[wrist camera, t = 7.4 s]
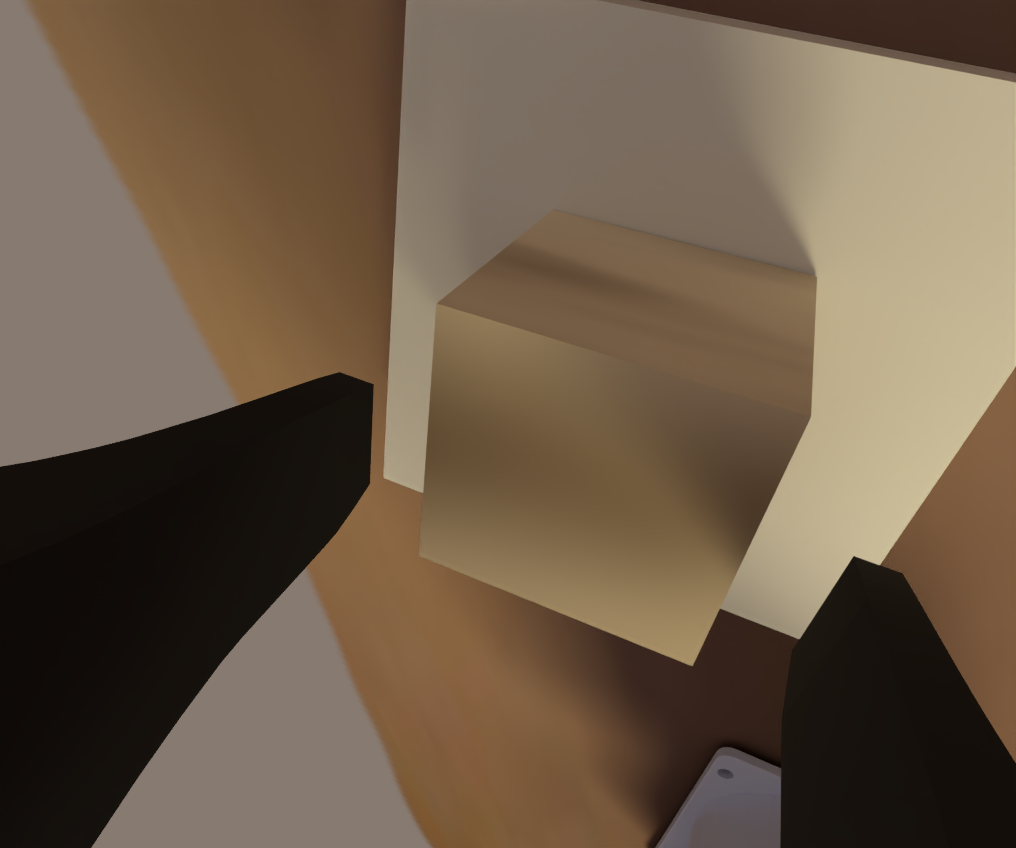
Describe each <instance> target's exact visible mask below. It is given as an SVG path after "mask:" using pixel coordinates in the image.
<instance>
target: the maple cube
mask: <svg viewBox="0 0 1016 848" xmlns="http://www.w3.org/2000/svg"><path fill="white" fill-rule="evenodd" d="M816 291H817V277H816V276H812V275H808V274H804V273H800V272H796V271H793V270H789V269H785V268H781V267H777V266H773V265H769V264H765V263H761V262H757V261H753V260H749V259H745V258H741V257H737V256H734V255H730V254H726V253H722V252H718V251H714V250H710V249H706V248H702V247H698V246H694V245H690V244H686V243H682V242H678V241H675V240H671V239H667V238H663V237H659V236H655V235H651V234H647V233H643V232H639V231H635V230H631V229H627V228H623V227H619V226H616V225H612V224H608V223H604V222H600V221H596V220H592V219H588V218H584V217H580V216H576V215H572V214H568V213H564V212H561V211H557V210H552V211H551V212H549V213H548V214H547V215H546V216H544V217H543V218H542V219H541V220H539V221H538V222H537V223H536V224H535V225H533V226H532V227H531V228H530V229H528V230H527V231H526V232H525V233H523V234H522V235H521V236H520V237H518V238H517V239H516V240H515V241H513V242H512V243H511V244H510V245H508V246H507V247H506V248H505V249H503V250H502V251H501V252H500V253H498V254H497V255H496V256H495V257H493V258H492V259H491V260H490V261H489V262H487V263H486V264H485V265H484V266H482V267H481V268H480V269H479V270H477V271H476V272H475V273H474V274H472V275H471V276H470V277H469V278H467V279H466V280H465V281H464V282H462V283H461V284H460V285H459V286H457V287H456V288H455V289H454V290H452V291H451V292H450V293H449V294H447V295H446V296H445V297H444V298H443V299H441V300H440V301H439V302H438V303H436V316H435V330H434V345H433V359H432V373H431V388H430V402H429V417H428V431H427V445H426V460H425V474H424V488H423V503H422V517H421V531H420V546H419V556H420V557H423V558H425V559H428V560H430V561H433V562H435V563H438V564H440V565H443V566H445V567H448V568H450V569H453V570H455V571H457V572H460V573H462V574H465V575H467V576H470V577H472V578H475V579H477V580H480V581H482V582H485V583H487V584H490V585H492V586H495V587H497V588H500V589H502V590H505V591H507V592H509V593H512V594H514V595H517V596H519V597H522V598H524V599H527V600H529V601H532V602H534V603H537V604H539V605H542V606H544V607H547V608H549V609H552V610H554V611H557V612H559V613H561V614H564V615H566V616H569V617H571V618H574V619H576V620H579V621H581V622H584V623H586V624H589V625H591V626H594V627H596V628H599V629H601V630H604V631H606V632H608V633H611V634H613V635H616V636H618V637H621V638H623V639H626V640H628V641H631V642H633V643H636V644H638V645H641V646H643V647H646V648H648V649H651V650H653V651H656V652H658V653H660V654H663V655H665V656H668V657H670V658H673V659H675V660H678V661H680V662H683V663H685V664H688V665H690V666H693V664H694V662H695V660H696V658H697V656H698V654H699V651H700V649H701V647H702V645H703V643H704V641H705V639H706V637H707V635H708V633H709V630H710V628H711V626H712V624H713V622H714V620H715V618H716V616H717V614H718V611H719V609H720V607H721V605H722V603H723V601H724V599H725V597H726V595H727V593H728V590H729V588H730V586H731V584H732V582H733V580H734V578H735V576H736V574H737V572H738V569H739V567H740V565H741V563H742V561H743V559H744V557H745V555H746V553H747V551H748V548H749V546H750V544H751V542H752V540H753V538H754V536H755V534H756V532H757V530H758V527H759V525H760V523H761V521H762V519H763V517H764V515H765V513H766V511H767V509H768V506H769V504H770V502H771V500H772V498H773V496H774V494H775V492H776V490H777V487H778V485H779V483H780V481H781V479H782V477H783V475H784V473H785V471H786V469H787V466H788V464H789V462H790V460H791V458H792V456H793V454H794V452H795V450H796V448H797V445H798V443H799V441H800V439H801V437H802V435H803V433H804V431H805V429H806V427H807V424H808V422H809V420H810V418H811V408H812V384H813V361H814V338H815V314H816Z"/></svg>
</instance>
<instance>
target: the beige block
mask: <svg viewBox="0 0 1016 848" xmlns="http://www.w3.org/2000/svg"><path fill="white" fill-rule="evenodd" d="M552 210H557V211H561V212H564V213H568V214H572V215H576V216H580V217H584V218H588V219H592V220H596V221H600V222H604V223H608V224H612V225H616V226H619V227H623V228H627V229H631V230H635V231H639V232H643V233H647V234H651V235H655V236H659V237H663V238H667V239H671V240H675V241H678V242H682V243H686V244H690V245H694V246H698V247H702V248H706V249H710V250H714V251H718V252H722V253H726V254H730V255H734V256H737V257H741V258H745V259H749V260H753V261H757V262H761V263H765V264H769V265H773V266H777V267H781V268H785V269H789V270H793V271H796V272H800V273H804V274H808V275H812V276H816V277H817V291H816V314H815V338H814V361H813V384H812V408H811V418H810V420H809V422H808V424H807V427H806V429H805V431H804V433H803V435H802V437H801V439H800V441H799V443H798V445H797V448H796V450H795V452H794V454H793V456H792V458H791V460H790V462H789V464H788V466H787V469H786V471H785V473H784V475H783V477H782V479H781V481H780V483H779V485H778V487H777V490H776V492H775V494H774V496H773V498H772V500H771V502H770V504H769V506H768V509H767V511H766V513H765V515H764V517H763V519H762V521H761V523H760V525H759V527H758V530H757V532H756V534H755V536H754V538H753V540H752V542H751V544H750V546H749V548H748V551H747V553H746V555H745V557H744V559H743V561H742V563H741V565H740V567H739V569H738V572H737V574H736V576H735V578H734V580H733V582H732V584H731V586H730V588H729V590H728V593H727V595H726V597H725V599H724V601H723V603H722V605H721V607H720V609H723V610H725V611H728V612H730V613H733V614H735V615H738V616H741V617H743V618H746V619H748V620H751V621H753V622H756V623H759V624H761V625H764V626H766V627H769V628H772V629H774V630H777V631H779V632H782V633H784V634H787V635H790V636H792V637H795V638H797V639H800V638H801V636H802V635H803V633H804V632H805V630H806V629H807V627H808V625H809V624H810V622H811V621H812V619H813V618H814V616H815V615H816V613H817V612H818V610H819V609H820V607H821V605H822V604H823V602H824V601H825V599H826V598H827V596H828V595H829V593H830V592H831V590H832V589H833V587H834V585H835V584H836V582H837V581H838V579H839V578H840V576H841V575H842V573H843V572H844V570H845V569H846V567H847V565H848V564H849V562H850V561H851V559H852V558H853V556H855V557H858V558H861V559H863V560H866V561H869V562H872V563H875V564H877V565H880V564H881V563H882V561H883V560H884V558H885V557H886V555H887V554H888V552H889V551H890V550H891V548H892V547H893V545H894V544H895V542H896V541H897V539H898V538H899V536H900V535H901V533H902V532H903V531H904V529H905V528H906V526H907V525H908V523H909V522H910V520H911V519H912V517H913V516H914V514H915V513H916V512H917V510H918V509H919V507H920V506H921V504H922V503H923V501H924V500H925V498H926V497H927V495H928V494H929V493H930V491H931V490H932V488H933V487H934V485H935V484H936V482H937V481H938V479H939V478H940V476H941V475H942V474H943V472H944V471H945V469H946V468H947V466H948V465H949V463H950V462H951V460H952V459H953V457H954V456H955V455H956V453H957V452H958V450H959V449H960V447H961V446H962V444H963V443H964V441H965V440H966V439H967V437H968V436H969V434H970V433H971V431H972V430H973V428H974V427H975V425H976V424H977V422H978V421H979V420H980V418H981V417H982V415H983V414H984V412H985V411H986V409H987V408H988V406H989V405H990V403H991V402H992V401H993V399H994V398H995V396H996V395H997V393H998V392H999V390H1000V389H1001V387H1002V386H1003V384H1004V383H1005V382H1006V380H1007V379H1008V377H1009V376H1010V374H1011V373H1012V371H1013V370H1014V368H1015V367H1016V73H1011V72H1006V71H1000V70H995V69H990V68H985V67H980V66H975V65H969V64H964V63H959V62H954V61H949V60H944V59H938V58H933V57H928V56H923V55H918V54H913V53H908V52H902V51H897V50H892V49H887V48H882V47H877V46H871V45H866V44H861V43H856V42H851V41H846V40H840V39H835V38H830V37H825V36H820V35H815V34H810V33H804V32H799V31H794V30H789V29H784V28H779V27H773V26H768V25H763V24H758V23H753V22H748V21H742V20H737V19H732V18H727V17H722V16H717V15H712V14H706V13H701V12H696V11H691V10H686V9H681V8H675V7H670V6H665V5H660V4H655V3H650V2H644V1H639V0H406V18H405V39H404V60H403V80H402V101H401V122H400V143H399V164H398V185H397V205H396V226H395V247H394V268H393V289H392V310H391V331H390V351H389V372H388V393H387V414H386V435H385V456H384V477H383V478H385V479H388V480H390V481H393V482H395V483H398V484H401V485H403V486H406V487H408V488H411V489H413V490H416V491H419V492H421V493H423V488H424V474H425V460H426V445H427V431H428V417H429V402H430V388H431V373H432V359H433V345H434V330H435V316H436V303H438V302H439V301H440V300H441V299H443V298H444V297H445V296H446V295H447V294H449V293H450V292H451V291H452V290H454V289H455V288H456V287H457V286H459V285H460V284H461V283H462V282H464V281H465V280H466V279H467V278H469V277H470V276H471V275H472V274H474V273H475V272H476V271H477V270H479V269H480V268H481V267H482V266H484V265H485V264H486V263H487V262H489V261H490V260H491V259H492V258H493V257H495V256H496V255H497V254H498V253H500V252H501V251H502V250H503V249H505V248H506V247H507V246H508V245H510V244H511V243H512V242H513V241H515V240H516V239H517V238H518V237H520V236H521V235H522V234H523V233H525V232H526V231H527V230H528V229H530V228H531V227H532V226H533V225H535V224H536V223H537V222H538V221H539V220H541V219H542V218H543V217H544V216H546V215H547V214H548V213H549V212H551V211H552Z"/></svg>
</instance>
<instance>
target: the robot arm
mask: <svg viewBox="0 0 1016 848" xmlns="http://www.w3.org/2000/svg"><path fill="white" fill-rule="evenodd" d="M373 386H374V384H371V383H368V382H365V381H363V380H360V379H357V378H354V377H351V376H349V375H346V374H343V373H340V372H339V373H335V374H331V375H328V376H324V377H321V378H318V379H315V380H312V381H308V382H305V383H302V384H300V385H297V386H294V387H291V388H288V389H285V390H282V391H279V392H276V393H273V394H270V395H268V396H265V397H262V398H259V399H256V400H253V401H250V402H247V403H244V404H241V405H238V406H235V407H232V408H229V409H227V410H224V411H221V412H218V413H215V414H212V415H209V416H205V417H202V418H199V419H195V420H192V421H189V422H185V423H182V424H179V425H175V426H172V427H169V428H166V429H162V430H159V431H155V432H152V433H149V434H145V435H142V436H139V437H135V438H131V439H128V440H124V441H120V442H116V443H112V444H108V445H104V446H100V447H96V448H92V449H88V450H83V451H79V452H74V453H69V454H65V455H60V456H56V457H51V458H47V459H42V460H37V461H32V462H26V463H20V464H14V465H9V466H2V467H0V848H91V847H92V846H93V844H94V843H95V841H96V840H97V838H98V837H99V835H100V834H101V832H102V831H103V829H104V828H105V826H106V825H107V823H108V822H109V820H110V819H111V817H112V816H113V814H114V813H115V811H116V810H117V808H118V807H119V805H120V804H121V802H122V800H123V799H124V798H125V796H126V795H127V793H128V792H129V790H130V788H131V787H132V786H133V784H134V783H135V781H136V780H137V778H138V777H139V775H140V774H141V772H142V771H143V769H144V768H145V766H146V765H147V764H148V762H149V761H150V759H151V758H152V757H153V755H154V754H155V753H156V751H157V750H158V748H159V747H160V745H161V744H162V743H163V741H164V740H165V738H166V737H167V735H168V734H169V733H170V731H171V730H172V728H173V727H174V725H175V724H176V723H177V721H178V720H179V718H180V717H181V716H182V714H183V713H184V712H185V710H186V709H187V708H188V706H189V705H190V704H191V702H192V701H193V699H194V698H195V696H196V695H197V694H198V693H199V691H200V690H201V689H202V687H203V686H204V685H205V683H206V682H207V681H208V679H209V678H210V677H211V675H212V674H213V673H214V671H215V670H216V669H217V667H218V666H219V665H220V663H221V662H222V661H223V660H224V658H225V657H226V656H227V655H228V654H229V652H230V651H231V650H232V649H233V648H234V646H235V645H236V644H237V643H238V642H239V640H240V639H241V638H242V637H243V636H244V635H245V634H246V632H247V631H248V630H249V629H250V628H251V627H252V626H253V625H254V624H255V623H256V621H257V620H258V619H259V618H260V617H261V616H262V615H263V614H264V613H265V612H266V610H267V609H268V608H269V607H270V606H271V605H272V604H273V603H274V602H275V601H276V599H277V598H278V597H279V596H280V595H281V594H282V593H283V592H284V591H285V590H286V589H287V588H288V586H289V585H290V584H291V583H292V582H293V581H294V580H295V579H296V578H297V577H298V575H299V574H300V573H301V572H302V571H303V570H304V569H305V568H306V567H307V566H308V564H309V563H310V562H311V561H312V560H313V559H314V558H315V557H316V555H317V554H318V553H319V552H320V551H321V550H322V549H323V548H324V547H325V545H326V544H327V543H328V542H329V541H330V540H331V539H332V537H333V536H334V535H335V534H336V533H337V531H338V530H339V528H340V527H341V526H342V524H343V523H344V521H345V520H346V519H347V517H348V516H349V514H350V513H351V512H352V510H353V509H354V507H355V506H356V504H357V503H358V501H359V500H360V498H361V496H362V495H363V493H364V492H365V490H366V489H367V487H368V486H369V484H370V465H371V439H372V413H373ZM655 848H1016V763H1015V761H1014V760H1013V758H1012V757H1011V755H1010V754H1009V752H1008V750H1007V749H1006V747H1005V746H1004V744H1003V743H1002V741H1001V739H1000V738H999V736H998V735H997V733H996V731H995V730H994V728H993V727H992V725H991V723H990V722H989V720H988V719H987V717H986V715H985V714H984V712H983V710H982V709H981V707H980V705H979V704H978V702H977V700H976V699H975V697H974V696H973V694H972V692H971V691H970V689H969V687H968V685H967V684H966V682H965V680H964V679H963V677H962V675H961V674H960V672H959V670H958V668H957V667H956V665H955V663H954V662H953V660H952V658H951V656H950V655H949V653H948V651H947V649H946V648H945V646H944V644H943V643H942V641H941V639H940V637H939V636H938V634H937V632H936V630H935V629H934V627H933V625H932V623H931V622H930V620H929V618H928V616H927V615H926V613H925V611H924V609H923V607H922V606H921V604H920V602H919V601H918V599H917V597H916V595H915V594H914V592H913V590H912V589H911V587H910V585H909V584H908V582H907V580H906V579H905V577H904V575H903V574H902V573H900V572H897V571H894V570H891V569H889V568H886V567H883V566H880V565H877V564H875V563H872V562H869V561H866V560H863V559H861V558H858V557H855V556H853V558H852V559H851V561H850V562H849V564H848V565H847V567H846V569H845V570H844V572H843V573H842V575H841V576H840V578H839V579H838V581H837V582H836V584H835V585H834V587H833V589H832V590H831V592H830V593H829V595H828V596H827V598H826V599H825V601H824V602H823V604H822V605H821V607H820V609H819V610H818V612H817V613H816V615H815V616H814V618H813V619H812V621H811V622H810V624H809V625H808V627H807V629H806V630H805V632H804V633H803V635H802V636H801V638H800V639H799V641H798V642H797V644H796V645H795V647H794V649H793V650H792V655H791V661H790V668H789V674H788V680H787V687H786V694H785V701H784V709H783V716H782V745H781V768H779V767H777V766H774V765H772V764H770V763H767V762H765V761H763V760H760V759H758V758H756V757H753V756H751V755H749V754H746V753H744V752H742V751H739V750H737V749H734V748H731V747H723V748H720V749H719V750H717V751H716V753H715V755H714V756H713V758H712V759H711V761H710V762H709V764H708V766H707V767H706V769H705V770H704V772H703V773H702V775H701V777H700V778H699V780H698V781H697V783H696V784H695V786H694V788H693V789H692V791H691V792H690V794H689V795H688V797H687V799H686V800H685V802H684V803H683V805H682V806H681V808H680V810H679V811H678V813H677V814H676V816H675V817H674V819H673V821H672V822H671V824H670V825H669V827H668V828H667V830H666V832H665V833H664V835H663V836H662V838H661V839H660V841H659V843H658V844H657V846H656V847H655Z"/></svg>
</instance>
